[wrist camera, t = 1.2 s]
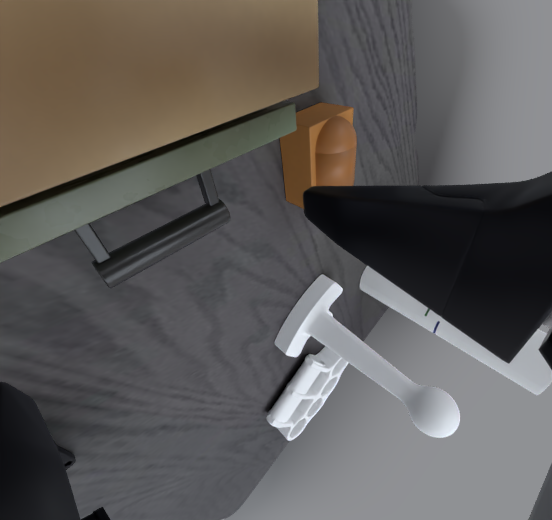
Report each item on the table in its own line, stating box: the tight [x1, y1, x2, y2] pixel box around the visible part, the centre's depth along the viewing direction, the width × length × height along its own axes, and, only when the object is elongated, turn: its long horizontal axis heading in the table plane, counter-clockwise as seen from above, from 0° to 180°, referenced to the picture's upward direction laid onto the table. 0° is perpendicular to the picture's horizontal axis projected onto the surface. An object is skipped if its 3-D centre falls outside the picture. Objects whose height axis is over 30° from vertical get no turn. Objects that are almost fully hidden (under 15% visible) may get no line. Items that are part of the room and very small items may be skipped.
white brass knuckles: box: [266, 346, 348, 441], centre depth 50 cm, size 3×18×15 cm
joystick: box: [274, 274, 460, 438], centre depth 34 cm, size 11×8×20 cm
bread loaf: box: [280, 102, 357, 209], centre depth 25 cm, size 7×5×5 cm
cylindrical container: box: [360, 266, 552, 395], centre depth 43 cm, size 7×7×25 cm
